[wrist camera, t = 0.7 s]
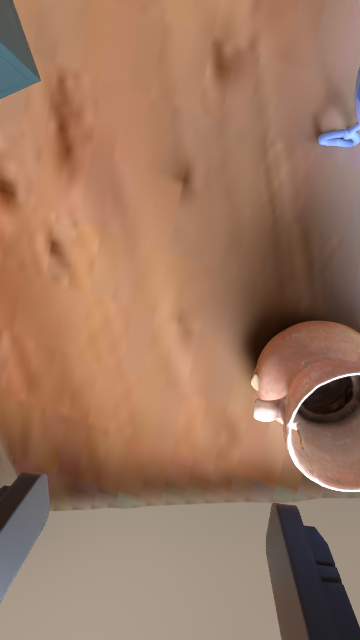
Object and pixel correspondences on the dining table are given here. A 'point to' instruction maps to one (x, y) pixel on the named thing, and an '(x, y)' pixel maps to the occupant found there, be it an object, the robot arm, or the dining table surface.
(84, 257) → the dining table surface
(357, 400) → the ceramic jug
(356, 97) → the baby rattle
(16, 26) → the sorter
